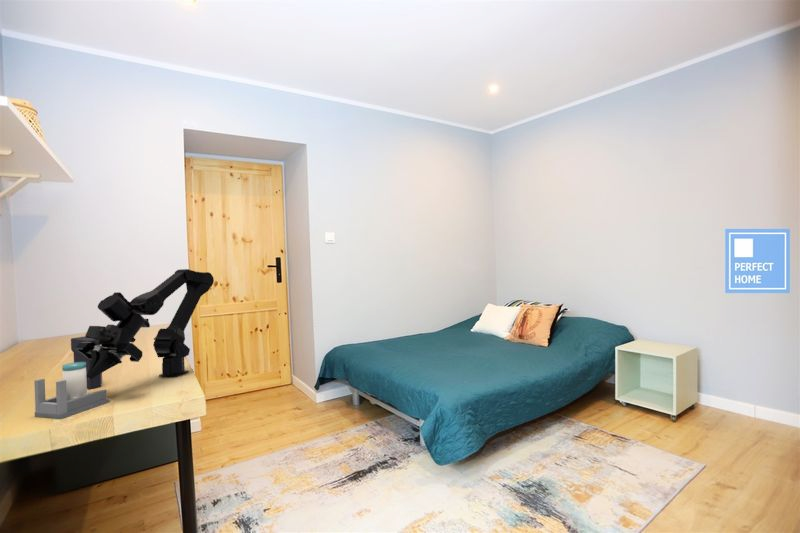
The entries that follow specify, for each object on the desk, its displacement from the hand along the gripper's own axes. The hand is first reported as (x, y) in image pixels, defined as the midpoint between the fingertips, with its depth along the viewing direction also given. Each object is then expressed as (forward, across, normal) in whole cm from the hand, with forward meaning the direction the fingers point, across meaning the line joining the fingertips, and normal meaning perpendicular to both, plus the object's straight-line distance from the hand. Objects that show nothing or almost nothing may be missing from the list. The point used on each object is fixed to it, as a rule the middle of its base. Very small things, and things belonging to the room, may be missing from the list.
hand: (88, 378), depth 107 cm
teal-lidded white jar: (+7, 0, +2) cm, 7 cm away
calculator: (-4, -18, +14) cm, 23 cm away
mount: (+7, 0, +2) cm, 8 cm away
